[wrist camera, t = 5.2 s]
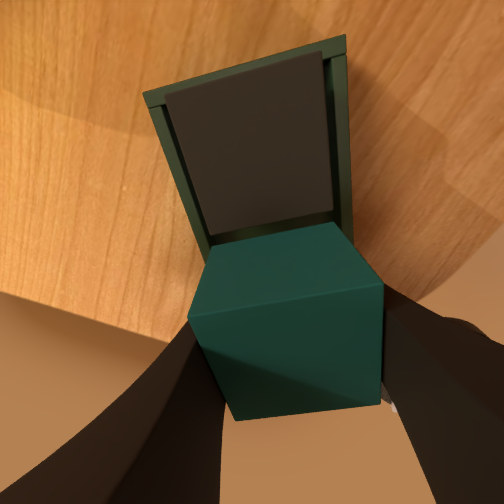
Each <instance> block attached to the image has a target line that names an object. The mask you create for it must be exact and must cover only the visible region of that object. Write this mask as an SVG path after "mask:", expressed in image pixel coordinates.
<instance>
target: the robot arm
mask: <svg viewBox="0 0 504 504" xmlns="http://www.w3.org/2000/svg"><path fill="white" fill-rule="evenodd" d="M381 381H382V383H383V385H384V386H385V388H386V390H387V392H388V394H389V396H390V398H391V400H392V404H391V408H392V410H393V412H396V413H397V412H398V414H399V416H400V418H401V421H402V423H403V425H404V428H405V430H406V432H407V434H408V437H409V439H410V441H411V444H412V446H413V448H414V451H415V453H416V455H417V458H418V460H419V463H420V465H421V467H422V470H423V472H424V474H425V477H426V479H427V481H428V484H429V486H430V489H431V491H432V494H433V496H434V499H435V501H436V504H504V345H502V344H500V343H497V342H495V341H493V340H490V339H488V338H486V337H484V336H482V335H479V334H477V333H475V332H473V331H471V330H468V329H466V328H464V327H462V326H460V325H458V324H456V323H454V322H452V321H450V320H448V319H446V318H444V317H442V316H440V315H438V314H436V313H434V312H432V311H430V310H428V309H427V308H425V307H423V306H421V305H420V304H418V303H416V302H414V301H413V300H411V299H409V298H407V297H406V296H404V295H402V294H401V293H399V292H397V291H396V290H394V289H392V288H391V287H389V286H388V285H386V284H384V307H383V342H382V376H381ZM225 405H226V400H225V398H224V396H223V394H222V392H221V390H220V387H219V385H218V383H217V381H216V379H215V377H214V374H213V372H212V370H211V368H210V366H209V364H208V361H207V359H206V357H205V355H204V353H203V351H202V349H201V346H200V344H199V342H198V340H197V338H196V336H195V333H194V331H193V329H192V327H191V325H190V323H189V320H188V321H187V322H186V323H185V325H184V326H183V327H182V328H181V330H180V331H179V332H178V334H177V335H176V336H175V337H174V339H173V340H172V341H171V342H170V343H169V344H168V346H167V347H166V348H165V349H164V350H163V352H162V353H161V354H160V355H159V356H158V358H157V359H156V360H155V361H154V362H153V363H152V364H151V365H150V366H149V367H148V368H147V370H146V371H145V372H144V373H143V374H142V375H141V376H140V377H139V378H138V379H137V380H136V381H135V382H134V383H133V384H132V385H131V386H130V387H129V388H128V389H127V390H126V391H125V392H124V393H123V394H122V395H120V396H119V397H118V398H117V399H116V400H115V401H114V402H113V403H112V404H111V405H110V406H108V407H107V408H106V409H105V410H104V411H103V412H102V413H101V414H100V415H99V416H97V417H96V418H95V419H94V420H93V421H92V422H91V423H89V424H88V425H87V426H86V427H85V428H84V429H82V430H81V431H80V432H79V433H77V434H76V435H75V436H74V437H73V438H71V439H70V440H69V441H68V442H66V443H65V444H64V445H63V446H61V447H60V448H59V449H58V450H56V451H55V452H54V453H53V454H52V455H50V456H49V457H48V458H47V459H45V460H44V461H42V462H41V463H40V464H39V465H37V466H36V467H35V468H33V469H32V470H30V471H29V472H28V473H26V474H25V475H24V476H22V477H21V478H20V479H18V480H17V481H16V482H14V483H13V484H11V485H10V486H9V487H7V488H6V489H5V490H3V491H2V492H1V493H0V504H219V501H220V471H221V448H222V430H223V420H224V412H225Z"/></svg>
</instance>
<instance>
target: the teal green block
mask: <svg viewBox="0 0 504 504" xmlns="http://www.w3.org/2000/svg"><path fill="white" fill-rule="evenodd" d="M383 307H384V282H383V281H382V280H381V279H380V277H379V276H378V275H377V274H376V273H375V271H374V270H373V269H372V268H371V266H370V265H369V264H368V263H367V262H366V260H365V259H364V258H363V257H362V255H361V254H360V253H359V252H358V251H357V249H356V248H355V247H354V246H353V244H352V243H351V242H350V241H349V240H348V238H347V237H346V236H345V235H344V233H343V232H342V231H341V230H340V229H339V227H338V226H337V225H336V224H335V222H329V223H324V224H319V225H314V226H309V227H304V228H299V229H294V230H289V231H284V232H279V233H275V234H270V235H265V236H260V237H255V238H250V239H245V240H240V241H235V242H230V243H226V244H221V245H216V246H212V248H211V251H210V253H209V256H208V259H207V262H206V265H205V268H204V270H203V273H202V276H201V279H200V282H199V284H198V287H197V290H196V293H195V296H194V298H193V301H192V304H191V307H190V310H189V312H188V315H187V318H188V320H189V323H190V325H191V327H192V329H193V331H194V333H195V336H196V338H197V340H198V342H199V344H200V346H201V349H202V351H203V353H204V355H205V357H206V359H207V361H208V364H209V366H210V368H211V370H212V372H213V374H214V377H215V379H216V381H217V383H218V385H219V387H220V390H221V392H222V394H223V396H224V398H225V400H226V403H227V405H228V407H229V409H230V411H231V413H232V415H233V418H234V420H235V421H243V420H252V419H261V418H268V417H278V416H286V415H295V414H303V413H311V412H320V411H329V410H338V409H346V408H355V407H363V406H372V405H379V404H380V403H381V376H382V342H383Z"/></svg>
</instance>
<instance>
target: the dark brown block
mask: <svg viewBox="0 0 504 504" xmlns="http://www.w3.org/2000/svg"><path fill="white" fill-rule="evenodd" d="M164 99H165V102H166V105H167V108H168V111H169V114H170V117H171V120H172V123H173V126H174V129H175V132H176V135H177V138H178V141H179V144H180V147H181V150H182V153H183V156H184V159H185V162H186V165H187V168H188V171H189V174H190V177H191V180H192V183H193V186H194V189H195V192H196V195H197V198H198V201H199V204H200V207H201V210H202V213H203V215H204V218H205V221H206V224H207V227H208V230H209V233H210V235H216V234H221V233H226V232H231V231H236V230H240V229H245V228H250V227H255V226H259V225H264V224H269V223H274V222H279V221H283V220H288V219H293V218H298V217H303V216H307V215H312V214H317V213H322V212H326V211H331V210H333V209H334V205H333V192H332V178H331V165H330V152H329V138H328V125H327V112H326V98H325V85H324V72H323V58H322V51H321V50H318V51H314V52H311V53H307V54H304V55H300V56H297V57H293V58H290V59H286V60H283V61H279V62H276V63H272V64H269V65H265V66H262V67H258V68H255V69H251V70H248V71H244V72H240V73H237V74H233V75H230V76H226V77H223V78H219V79H216V80H212V81H209V82H205V83H202V84H198V85H195V86H191V87H188V88H184V89H181V90H177V91H174V92H170V93H167V94H165V95H164Z"/></svg>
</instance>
